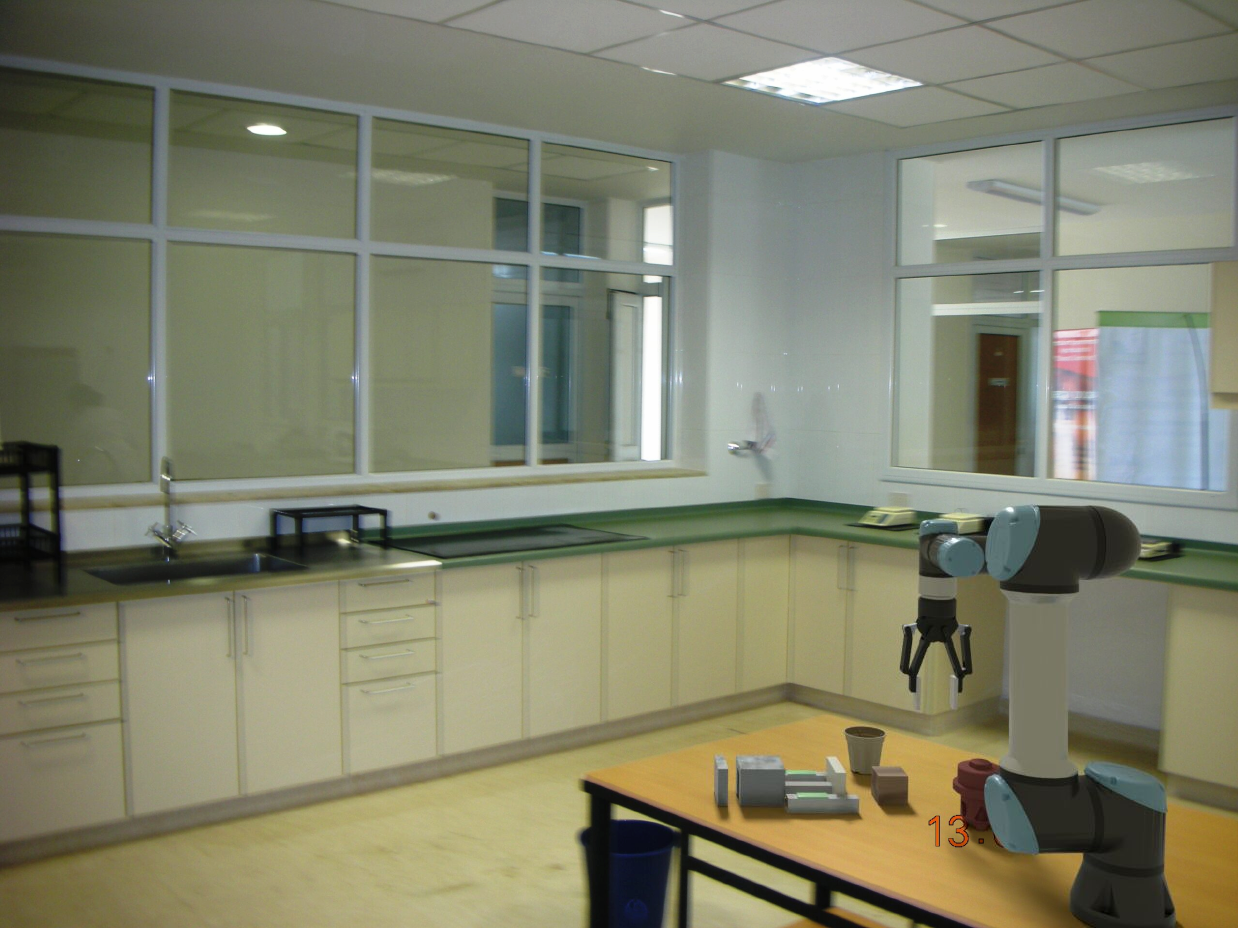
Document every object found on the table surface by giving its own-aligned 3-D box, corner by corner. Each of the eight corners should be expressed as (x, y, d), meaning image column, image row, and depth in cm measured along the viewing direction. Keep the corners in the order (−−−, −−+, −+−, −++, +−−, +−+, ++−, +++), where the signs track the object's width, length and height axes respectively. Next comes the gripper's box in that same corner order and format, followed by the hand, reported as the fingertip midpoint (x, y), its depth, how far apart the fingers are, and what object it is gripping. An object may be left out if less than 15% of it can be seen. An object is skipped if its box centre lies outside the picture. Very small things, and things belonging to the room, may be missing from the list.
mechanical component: (1002, 816, 209) (1010, 836, 199) (949, 812, 211) (954, 832, 201) (1003, 754, 208) (1012, 771, 198) (950, 751, 210) (956, 767, 200)
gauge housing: (858, 813, 210) (859, 775, 209) (719, 812, 210) (719, 774, 209) (842, 785, 226) (842, 750, 225) (712, 784, 226) (712, 749, 225)
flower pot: (833, 766, 238) (834, 728, 238) (867, 760, 242) (868, 723, 241) (860, 779, 229) (861, 740, 229) (895, 773, 233) (895, 734, 233)
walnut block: (907, 805, 215) (908, 776, 214) (878, 805, 215) (878, 775, 214) (900, 794, 221) (900, 766, 220) (871, 794, 221) (871, 766, 220)
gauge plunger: (845, 807, 213) (846, 772, 212) (775, 806, 213) (776, 772, 212) (835, 789, 223) (836, 756, 222) (768, 788, 223) (769, 756, 222)
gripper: (979, 593, 219) (977, 703, 220) (884, 592, 219) (882, 702, 221) (992, 599, 212) (989, 713, 213) (893, 599, 212) (891, 712, 213)
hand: (935, 707), depth 217 cm, fingers open, 7 cm apart
